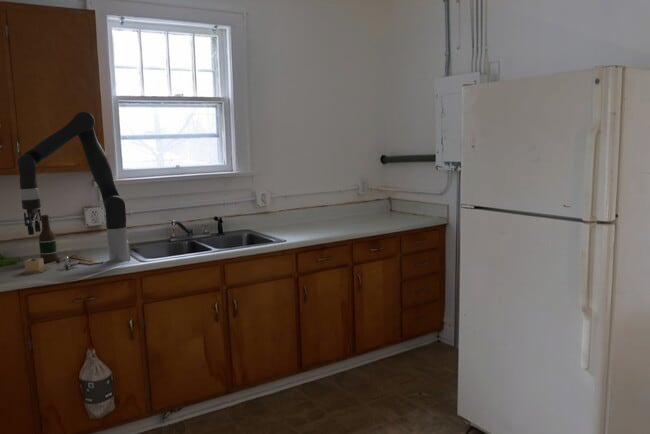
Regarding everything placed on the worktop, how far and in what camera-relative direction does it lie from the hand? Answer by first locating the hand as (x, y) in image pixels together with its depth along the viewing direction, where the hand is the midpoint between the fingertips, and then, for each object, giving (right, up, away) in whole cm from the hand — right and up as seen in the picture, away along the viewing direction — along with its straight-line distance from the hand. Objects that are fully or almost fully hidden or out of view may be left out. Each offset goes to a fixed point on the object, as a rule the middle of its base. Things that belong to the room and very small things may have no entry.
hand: (34, 233), depth 248 cm
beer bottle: (-7, -16, +27) cm, 32 cm away
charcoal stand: (+13, -18, +5) cm, 23 cm away
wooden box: (0, -19, +1) cm, 19 cm away
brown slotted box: (0, -17, +1) cm, 17 cm away
